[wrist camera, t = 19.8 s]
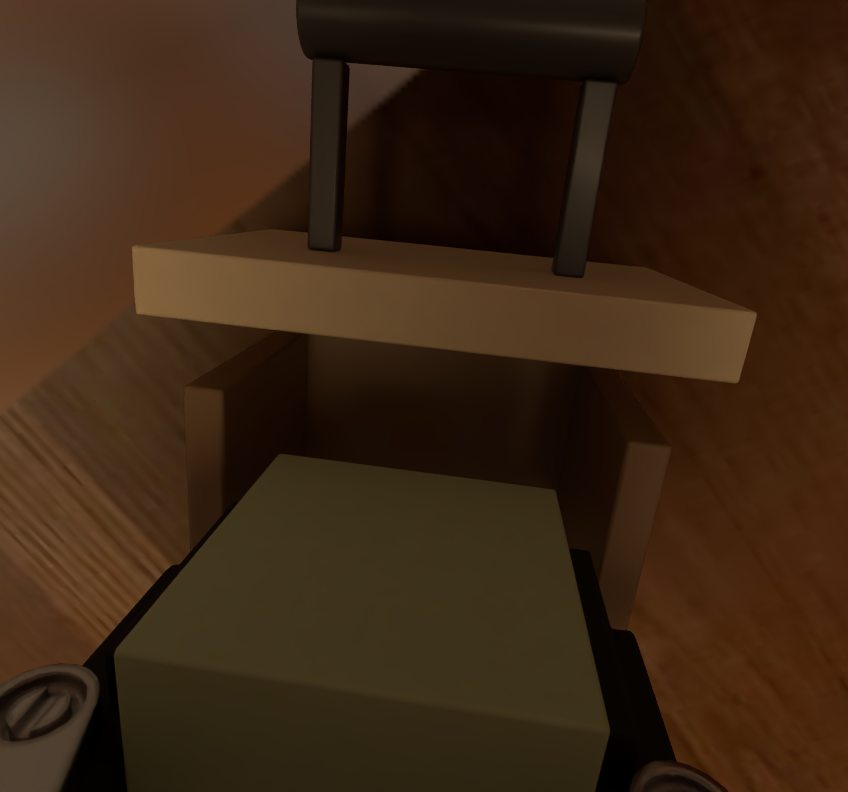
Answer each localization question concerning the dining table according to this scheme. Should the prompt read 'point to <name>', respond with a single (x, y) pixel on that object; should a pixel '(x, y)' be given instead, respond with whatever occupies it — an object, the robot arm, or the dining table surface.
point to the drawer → (448, 305)
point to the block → (367, 644)
